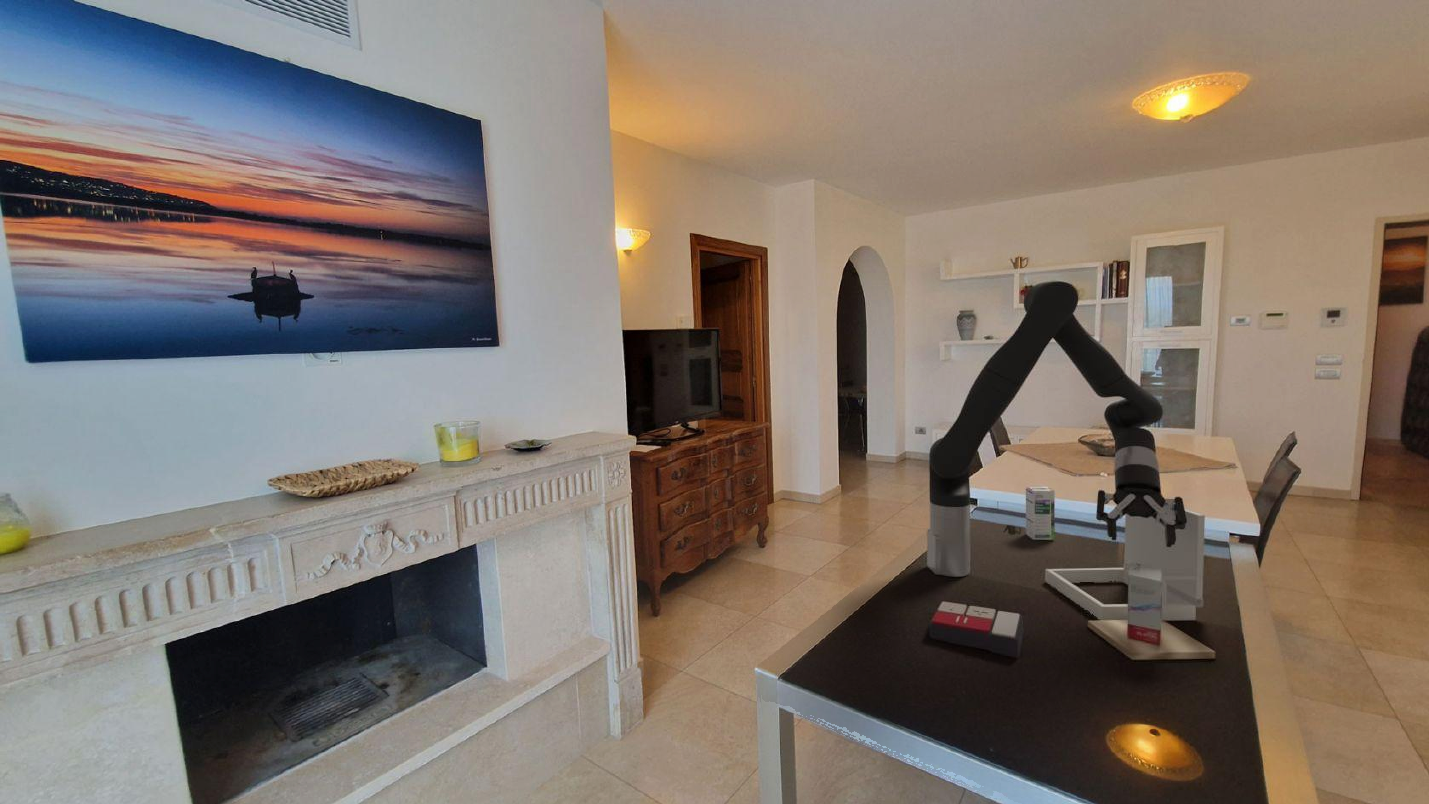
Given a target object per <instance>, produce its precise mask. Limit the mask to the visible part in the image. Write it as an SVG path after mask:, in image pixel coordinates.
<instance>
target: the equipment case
mask: <svg viewBox="0 0 1429 804" xmlns="http://www.w3.org/2000/svg"><path fill="white" fill-rule="evenodd" d="M1162 508H1163V509H1164V510H1165V511H1166V513H1167V515H1168V516H1170V517H1171V518H1172V519H1173V520H1176V518H1175V513H1174V510H1173V511H1172V510H1171V509H1170V508H1169V506H1167V505H1164V506H1163V507H1162ZM1184 509H1185V514H1186V519H1187V523H1186V525H1185V529H1183V530H1181V529H1176V530H1175V533H1176V542H1175V544H1174V545H1171V547H1166V541H1165V528H1164V527H1163V526H1162V525H1161V524H1160V523H1157V522H1156V521H1155V520H1154V519H1153V518H1152V517H1149V518H1143V517H1140V516H1136V517H1132V516H1129V515H1128V514H1125V515H1124V518H1125V519H1124V558H1123V559H1124V560H1123V561H1124V562H1123V566H1122V567H1097V568H1095V567H1094V568H1092V567H1091V568H1089V567H1088V568H1046V569H1045V570H1044V571H1045V572H1044V573H1045V574H1044V575H1045V576H1044V577H1045V578H1044V582H1045V581H1046V582H1045V583H1046V584H1048V585H1049V584H1050V587H1052V588H1054V587H1055V588H1056V589H1057V590H1056V589H1055V588H1054V589H1055V590H1056V591H1058V593H1061V594H1062V593H1063V594H1062V595H1064V596H1065V597H1066V598H1068V599H1069V598H1070V600H1071V601H1072V602H1073V601H1074V602H1073V603H1075V604H1077V605H1078V604H1079V605H1080V606H1079V605H1078V606H1079V607H1081V608H1082V609H1083V608H1084V609H1083V610H1085V611H1086V610H1088V611H1089V612H1090V613H1089V612H1088V611H1087V612H1088V613H1089V614H1091V615H1092V614H1093V615H1094V616H1093V615H1092V616H1093V617H1095V616H1096V617H1097V618H1096V617H1095V618H1096V619H1097V620H1128V603H1122V604H1121V603H1120V604H1119V603H1118V604H1117V603H1115V604H1112V603H1111V604H1110V603H1109V604H1106V603H1105V604H1104V603H1103V602H1101V601H1099V600H1098V599H1096V598H1095V597H1093V596H1092V595H1090V594H1088V593H1087V592H1085V591H1084V590H1082V589H1081V588H1079V587H1078V586H1077V585H1075V584H1081V583H1080V582H1094V583H1110V582H1109V581H1112V582H1111V583H1123V584H1125V585H1127V586H1128V571H1129V565H1130V563H1138V564H1143V565H1148V566H1153V567H1159V568H1161V569H1162V612H1161V620H1163V621H1165V622H1167V621H1196V614H1197V613H1196V608H1204V599H1203V591H1204V589H1203V585H1204V559H1205V558H1204V557H1205V556H1204V554H1205V553H1204V551H1205V521H1206V518H1205V517H1206V516H1205V514H1202V513H1199V512H1195V511H1192V510H1190V509H1186V508H1184ZM1114 581H1116V582H1114ZM1118 581H1119V582H1118Z"/></svg>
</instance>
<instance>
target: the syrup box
mask: <svg viewBox="0 0 1429 804" xmlns="http://www.w3.org/2000/svg"><path fill="white" fill-rule="evenodd" d="M1055 494H1056V493H1055V490H1054V489H1052V488H1050V487H1048V486H1026V487H1025V534H1026V535H1027V536H1028V537H1029V538H1031V540H1034V541H1037V540H1038V541H1039V540H1040V541H1041V540H1042V541H1055V536H1056V534H1055V533H1056V532H1055V530H1056V529H1055V520H1056V519H1055V515H1056V514H1055V511H1056V510H1055V503H1056V502H1055V501H1056V500H1055V498H1056V497H1055Z"/></svg>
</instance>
